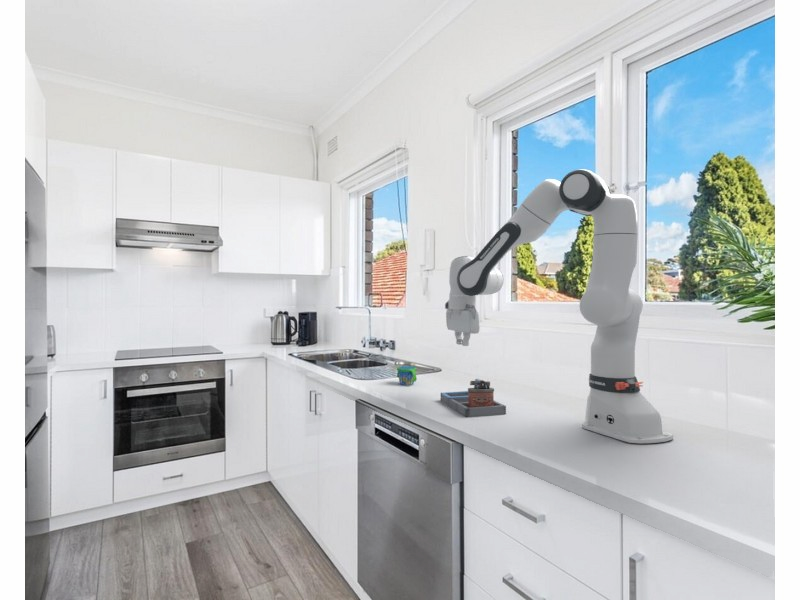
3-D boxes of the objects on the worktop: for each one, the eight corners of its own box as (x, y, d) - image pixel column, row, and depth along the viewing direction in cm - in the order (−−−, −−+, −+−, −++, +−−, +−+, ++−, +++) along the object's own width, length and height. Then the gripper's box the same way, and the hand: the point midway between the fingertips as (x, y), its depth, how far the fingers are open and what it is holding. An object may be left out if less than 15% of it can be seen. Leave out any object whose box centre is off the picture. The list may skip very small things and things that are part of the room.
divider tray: (508, 413, 138) (508, 390, 138) (466, 417, 134) (466, 393, 134) (477, 398, 159) (477, 378, 159) (440, 401, 156) (440, 380, 156)
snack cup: (422, 387, 180) (421, 368, 180) (405, 389, 177) (405, 370, 177) (408, 382, 190) (408, 365, 190) (391, 384, 187) (391, 366, 187)
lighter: (492, 411, 141) (492, 379, 141) (495, 413, 138) (495, 381, 138) (467, 411, 141) (467, 379, 141) (469, 414, 138) (468, 381, 138)
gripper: (484, 304, 144) (484, 348, 144) (459, 304, 164) (459, 342, 164) (466, 304, 142) (466, 348, 143) (443, 304, 162) (443, 342, 162)
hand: (462, 345), depth 153 cm, fingers open, 4 cm apart
